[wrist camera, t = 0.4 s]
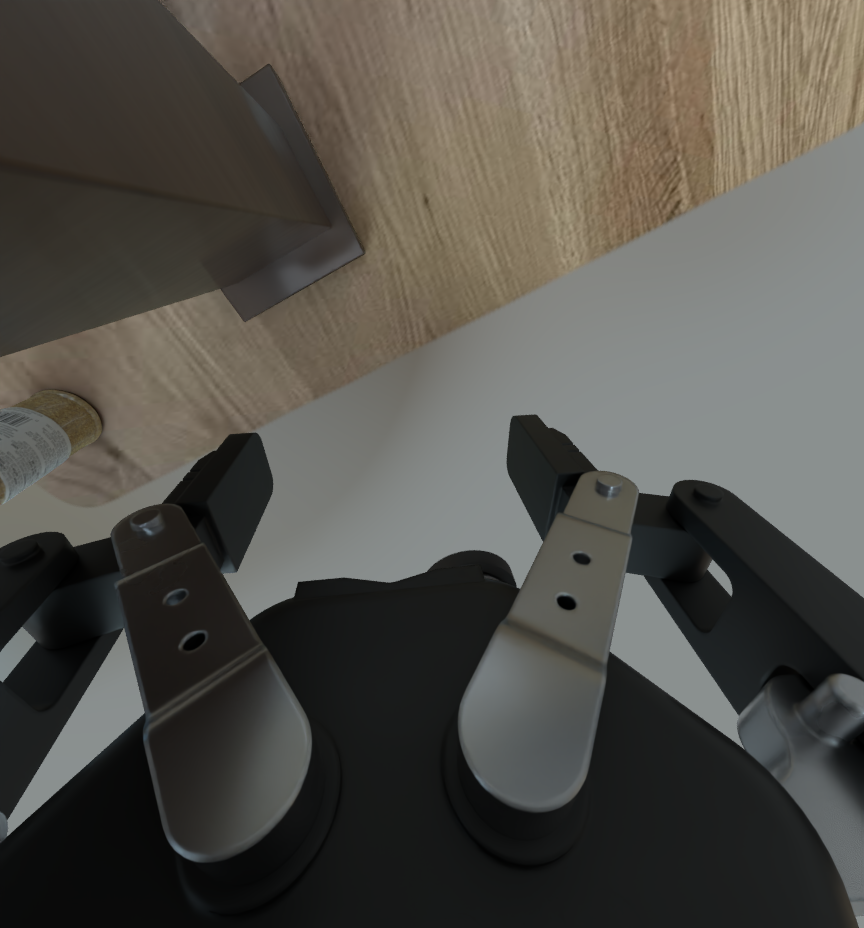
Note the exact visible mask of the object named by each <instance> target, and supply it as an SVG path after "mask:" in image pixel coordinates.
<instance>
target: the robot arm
mask: <svg viewBox="0 0 864 928" xmlns="http://www.w3.org/2000/svg"><path fill="white" fill-rule="evenodd" d="M507 470H508V474H509V476H510V478H511V480H512V482H513V484H514V486H515V488H516V490H517V492H518V494H519V496H520V498H521V500H522V502H523V504H524V505H525V507H526V509H527V511H528V513H529V515H530V517H531V519H532V521H533V523H534V525H535V527H536V529H537V531H538V533H539V535H540V537H541V539H542V541H543V544H542V546H541V548H540V550H539V552H538V554H537V556H536V558H535V560H534V562H533V564H532V566H531V569H530V570H529V573H528V575H527V577H526V579H525V581H524V583H523V585H522V587H521V589H519V588H517V587H514V586H512V585H510V584H507V583H504V582H503V581H502V580H501V579H500V578H499V577H497V576H495V575H493V574H490V573H486V572H482V569H481V565H473V566H462V567H451V568H441V569H435V570H432V571H428V572H425V573H422V574H419V575H416V576H412V577H409V578H406V579H403V580H400V581H396V582H391V583H386V582H377V581H369V580H360V579H351V578H335V579H325V580H314V581H303V582H298V584H297V588H296V593H295V596H294V597H293V598H291V599H287V600H285V601H282V602H280V603H278V604H275V605H274V606H272V607H270V608H268V609H266V610H264V611H263V612H261V613H259V614H258V615H256V616H255V617H253V618H252V619H251V620H249V619H248V617H247V616H246V614H245V612H244V610H243V609H242V607H241V605H240V604H239V602H238V600H237V598H236V597H235V595H234V593H233V591H232V590H231V588H230V586H229V585H228V583H227V581H226V579H225V578H224V576H223V574H224V573H234V572H237V571H238V569H239V566H240V564H241V562H242V560H243V558H244V555H245V553H246V551H247V548H248V546H249V544H250V542H251V540H252V538H253V535H254V533H255V531H256V528H257V526H258V524H259V522H260V519H261V517H262V515H263V513H264V510H265V508H266V506H267V504H268V502H269V500H270V497H271V495H272V492H273V478H272V474H271V470H270V467H269V463H268V460H267V457H266V454H265V450H264V447H263V443H262V441H261V438H260V436H259V435H258V434H257V433H241V434H230V435H229V436H228V437H227V438H226V439H225V440H224V442H223V443H222V444H221V445H220V447H219V448H218V449H217V450H216V451H212V452H211V453H209V454H208V455H206V456H204V457H203V458H201V459H200V460H198V461H197V463H196V464H195V465H194V466H193V467H192V469H191V470H190V472H188V473H187V474H186V476H185V477H184V478H183V481H181V482H180V483H179V484H178V485H177V486H176V488H175V489H174V490H173V491H172V492H171V493H170V494H169V496H168V497H167V498H166V499H165V500H164V502H163V503H162V504H159V505H153V506H149V507H146V508H143V509H141V510H138V511H136V512H134V513H132V514H130V515H128V516H127V517H125V518H124V519H122V520H121V521H120V522H119V523H118V524H117V525H116V526H115V527H114V528H113V530H112V532H111V537H110V538H106V539H102V540H99V541H95V542H91V543H87V544H83V545H80V546H76V547H73V546H72V545H71V544H70V542H69V541H68V539H67V538H66V537H65V535H64V534H62V533H58V532H44V533H39V534H34V535H31V536H27V537H24V538H22V539H19V540H16V541H14V542H12V543H9V544H7V545H6V546H3V547H1V548H0V652H1V650H2V649H3V648H4V646H5V645H6V644H7V643H8V642H9V641H10V640H11V638H12V637H13V636H14V635H15V634H16V633H17V632H18V630H19V629H20V628H21V627H23V628H24V629H25V630H26V631H28V633H29V634H30V635H31V636H32V637H33V638H34V639H35V640H36V642H35V643H34V644H33V646H32V647H31V648H30V649H29V651H28V652H27V653H26V654H25V656H24V657H23V658H22V659H21V661H20V662H19V663H18V664H17V666H16V667H15V668H14V669H13V670H12V672H11V673H10V674H9V676H8V677H7V678H6V679H5V680H4V682H3V683H2V682H1V681H0V928H859V927H858V924H857V921H856V918H855V916H864V598H863V597H862V596H860V595H859V594H858V593H857V592H855V591H854V590H853V589H852V588H850V587H849V586H848V585H847V584H845V583H844V582H843V581H841V580H840V579H839V578H838V577H837V576H835V575H834V574H833V573H832V572H830V571H829V570H828V569H827V568H825V567H824V566H823V565H822V564H820V563H819V562H818V561H816V560H815V559H814V558H813V557H812V556H810V555H809V554H808V553H807V552H805V551H804V550H803V549H802V548H800V547H799V546H798V545H796V544H795V543H794V542H793V541H791V540H790V539H789V538H788V537H786V536H785V535H784V534H783V533H781V532H780V531H779V530H778V529H777V528H775V527H774V526H773V525H772V524H770V523H769V522H768V521H767V520H765V519H764V518H763V517H762V516H760V515H759V514H758V513H757V512H755V511H754V510H753V509H752V508H750V507H749V506H748V505H747V504H745V503H744V502H743V501H742V500H740V499H739V498H738V497H737V496H735V495H734V494H733V493H731V492H730V491H728V490H726V489H724V488H722V487H720V486H717V485H715V484H712V483H708V482H704V481H698V480H683V481H679V482H677V483H676V484H675V485H674V486H673V489H672V492H671V494H670V496H660V495H652V494H643V493H639V490H638V488H637V486H636V485H635V484H634V483H633V482H632V481H630V480H629V479H627V478H626V477H623V476H621V475H619V474H616V473H612V472H607V471H598V470H597V469H596V468H595V467H594V466H593V465H592V464H591V462H590V461H589V460H588V459H587V458H586V457H585V456H584V455H583V454H582V453H581V452H579V449H578V448H577V447H576V446H575V445H573V443H572V442H571V441H570V439H569V438H568V437H567V436H566V435H565V434H563V433H561V432H559V431H557V430H556V429H554V428H548V427H546V425H545V424H544V423H543V422H542V420H541V419H540V418H539V417H538V416H537V415H521V416H513V417H512V419H511V423H510V431H509V441H508V451H507ZM712 559H713V560H714V561H715V562H716V563H717V564H718V566H720V568H721V569H722V570H723V571H724V572H725V573H726V574H727V576H728V577H729V579H730V581H731V584H732V589H733V594H732V597H731V596H730V595H729V594H728V592H727V591H726V590H725V589H724V588H723V587H722V586H721V585H720V583H719V582H718V581H717V580H716V579H715V578H714V577H713V576H712V574H711V573H710V572H709V571H708V570H707V568H708V567H709V565H710V563H711V561H712ZM625 573H632V574H638V575H644V577H645V579H646V580H647V582H648V583H649V585H650V586H651V587H652V589H653V590H654V592H655V593H656V595H657V596H658V598H659V599H660V601H661V602H662V604H663V605H664V606H665V608H666V609H667V611H668V612H669V614H670V615H671V617H672V618H673V620H674V621H675V623H676V624H677V625H678V627H679V629H680V630H681V632H682V633H683V634H684V636H685V637H686V639H687V640H688V642H689V643H690V645H691V646H692V648H693V649H694V651H695V652H696V654H697V655H698V657H699V658H700V659H701V661H702V662H703V664H704V665H705V667H706V668H707V670H708V671H709V673H710V674H711V676H712V677H713V678H714V680H715V681H716V683H717V684H718V686H719V687H720V689H721V690H722V692H723V693H724V695H725V696H726V698H727V699H728V701H729V702H730V703H731V705H732V706H733V708H734V709H735V711H736V712H737V714H738V715H739V718H738V722H737V729H738V734H739V738H740V740H741V743H742V745H743V747H744V749H745V750H744V749H743V748H742V747H740V746H739V745H738V744H736V743H735V742H734V741H732V740H731V739H730V738H728V737H727V736H726V735H724V734H723V733H721V732H720V731H718V730H717V729H716V728H714V727H713V726H712V725H710V724H709V723H708V722H706V721H705V720H703V719H702V718H701V717H699V716H698V715H696V714H695V713H693V712H692V711H691V710H689V709H688V708H687V707H685V706H684V705H683V704H681V703H680V702H679V701H677V700H676V699H674V698H673V697H671V696H670V695H669V694H668V693H666V692H665V691H663V690H662V689H661V688H659V687H658V686H657V685H655V684H654V683H652V682H651V681H649V680H648V679H647V678H645V677H644V676H643V675H641V674H640V673H639V672H637V671H636V670H634V669H633V668H632V667H630V666H628V665H627V664H626V663H625V662H623V661H622V660H621V659H619V658H618V657H616V656H615V655H614V654H612V653H611V652H610V646H611V641H612V636H613V632H614V626H615V622H616V617H617V612H618V607H619V602H620V597H621V592H622V588H623V582H624V578H625ZM123 628H125V632H126V636H127V640H128V644H129V649H130V653H131V657H132V661H133V665H134V670H135V674H136V677H137V682H138V686H139V690H140V694H141V698H142V702H143V707H144V711H145V713H144V714H143V715H142V716H141V717H140V718H139V719H138V720H137V721H136V722H134V723H133V724H132V725H131V726H130V727H129V728H128V729H127V730H125V731H124V732H123V733H122V734H121V735H120V736H119V737H118V738H117V739H115V740H114V741H113V742H112V743H111V744H110V745H109V746H108V747H107V748H106V749H104V750H103V751H102V752H101V753H100V754H99V755H98V756H97V757H95V758H94V759H93V760H92V761H91V762H90V763H89V764H88V765H86V766H85V767H84V768H83V769H82V770H81V771H80V772H79V773H78V774H76V775H75V776H74V777H73V778H72V779H71V780H70V781H69V782H68V783H67V784H65V785H64V786H63V787H62V788H61V789H60V790H59V791H57V792H56V793H55V794H54V795H53V796H52V797H51V798H50V799H49V800H48V801H46V802H45V803H44V804H43V805H42V806H41V807H40V808H39V809H38V810H36V811H35V812H34V813H33V814H32V815H31V816H30V817H28V818H27V819H26V820H25V821H24V822H23V823H22V824H21V825H20V826H19V827H17V828H16V829H15V830H14V831H13V832H12V833H11V834H10V835H9V836H7V832H8V822H7V820H8V818H9V817H10V815H11V813H12V812H13V810H14V808H15V807H16V805H17V803H18V802H19V800H20V798H21V797H22V795H23V793H24V792H25V790H26V788H27V787H28V785H29V784H30V782H31V780H32V778H33V777H34V775H35V774H36V772H37V770H38V769H39V767H40V765H41V764H42V762H43V760H44V759H45V757H46V756H47V754H48V752H49V751H50V749H51V747H52V745H53V744H54V742H55V741H56V739H57V737H58V736H59V734H60V732H61V731H62V729H63V727H64V726H65V724H66V722H67V721H68V719H69V718H70V716H71V714H72V713H73V711H74V709H75V708H76V706H77V705H78V703H79V701H80V700H81V698H82V696H83V695H84V693H85V691H86V690H87V688H88V686H89V685H90V683H91V681H92V680H93V678H94V677H95V675H96V673H97V672H98V670H99V668H100V667H101V665H102V663H103V662H104V660H105V658H106V657H107V655H108V653H109V652H110V650H111V648H112V647H113V645H114V644H115V642H116V640H117V639H118V637H119V635H120V634H121V632H122V630H123Z"/></svg>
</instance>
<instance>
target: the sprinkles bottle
mask: <svg viewBox="0 0 864 928" xmlns="http://www.w3.org/2000/svg"><path fill="white" fill-rule="evenodd" d="M101 432H102V424H101V421H100V417H99V416H98V414H97V412H96V411H95V410H94V409H93V408H92V407H91V406H90V405H89V404H88V403H87V402H85V401H84V400H83V399H81V398H79V397H78V396H76V395H74V394H71V393H68V392H65V391H58V390H44V391H40V392H38V393H36V394H34V395H32V396H31V397H30V398H29V399H27V400H25V401H22V402H20V403H18V404H16V405H14V406H12V407H9V408H4V409H1V410H0V505H2V504H4V503H5V502H7V501H8V500H10V499H11V498H13V497H14V496H15V495H17V494H19V492H21V491H23V490H24V489H26V488H27V487H29V486H30V485H32V484H33V483H35V482H36V481H38V480H39V479H40V478H42V477H43V476H45V475H46V474H47V473H49V472H50V471H52V470H53V469H55V468H56V467H57V466H59V465H60V464H62V463H63V462H65V461H66V460H67V459H68V457H70V456H71V455H73V454H74V453H75V452H77V451H78V450H80V449H81V448H83V447H84V446H86V445H89V444H91V443H93V442H94V441H96V440H97V439H98V437H99V436H100V434H101Z"/></svg>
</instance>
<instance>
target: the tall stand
mask: <svg viewBox="0 0 864 928" xmlns="http://www.w3.org/2000/svg"><path fill="white" fill-rule="evenodd" d="M364 254H365V250H364V248H363V246H362V244H361V242H360V240H359V238H358V236H357V234H356V232H355V230H354V228H353V226H352V224H351V222H350V220H349V218H348V216H347V214H346V212H345V210H344V208H343V206H342V204H341V202H340V200H339V198H338V196H337V194H336V192H335V190H334V188H333V186H332V184H331V182H330V180H329V178H328V176H327V174H326V172H325V170H324V168H323V166H322V164H321V162H320V160H319V158H318V156H317V154H316V151H315V149H314V147H313V145H312V143H311V141H310V139H309V137H308V135H307V133H306V131H305V129H304V127H303V125H302V123H301V121H300V119H299V117H298V115H297V113H296V111H295V109H294V107H293V105H292V103H291V101H290V99H289V97H288V95H287V93H286V91H285V89H284V87H283V85H282V83H281V81H280V79H279V77H278V75H277V74H276V72H275V71H274V69H273V68H272V66H271V65H270V64H268V65H266V66H265V67H263V68H262V69H260V70H259V71H257V72H256V73H255V74H253V75H252V76H250V77H249V78H247V79H246V80H244V81H243V82H241V83H240V84H239V83H238V82H237V81H236V80H235V79H234V78H233V77H232V76H231V75H230V74H229V73H228V72H227V71H226V70H225V69H224V68H223V67H222V66H221V65H220V64H219V63H218V62H217V61H216V60H215V59H214V58H213V56H212V55H211V54H210V53H209V52H208V51H207V50H206V49H205V48H204V47H203V46H202V45H201V44H200V43H199V42H198V41H197V40H196V39H195V38H194V37H193V36H192V35H191V34H190V33H189V32H188V31H187V30H186V28H185V27H184V26H183V25H182V24H181V23H180V22H179V21H178V20H177V19H176V18H175V17H174V16H173V15H172V14H171V13H170V12H169V11H168V10H167V9H166V8H165V7H164V6H163V5H162V4H161V3H160V2H159V1H158V0H0V357H2V356H5V355H8V354H11V353H15V352H18V351H21V350H24V349H28V348H31V347H34V346H37V345H40V344H44V343H47V342H50V341H53V340H57V339H60V338H63V337H66V336H69V335H73V334H76V333H79V332H82V331H86V330H89V329H92V328H95V327H98V326H102V325H105V324H108V323H111V322H115V321H118V320H121V319H124V318H128V317H131V316H134V315H137V314H140V313H144V312H147V311H150V310H153V309H157V308H160V307H163V306H166V305H169V304H173V303H176V302H179V301H182V300H186V299H189V298H192V297H195V296H198V295H202V294H205V293H208V292H211V291H215V290H218V289H221V291H222V292H223V293H224V295H225V296H226V297H227V299H228V300H229V302H230V303H231V304H232V306H233V307H234V308H235V310H236V311H237V313H238V314H239V315H240V317H241V318H242V319H243V321H244V322H246V321H248V320H250V319H251V318H253V317H255V316H257V315H258V314H260V313H262V312H264V311H265V310H267V309H269V308H271V307H272V306H274V305H276V304H278V303H279V302H281V301H283V300H285V299H286V298H288V297H290V296H292V295H294V294H295V293H297V292H299V291H301V290H302V289H304V288H306V287H308V286H309V285H311V284H313V283H315V282H316V281H318V280H320V279H322V278H323V277H325V276H327V275H329V274H330V273H332V272H334V271H336V270H337V269H339V268H341V267H343V266H345V265H346V264H348V263H350V262H352V261H353V260H355V259H357V258H359V257H360V256H362V255H364Z"/></svg>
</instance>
